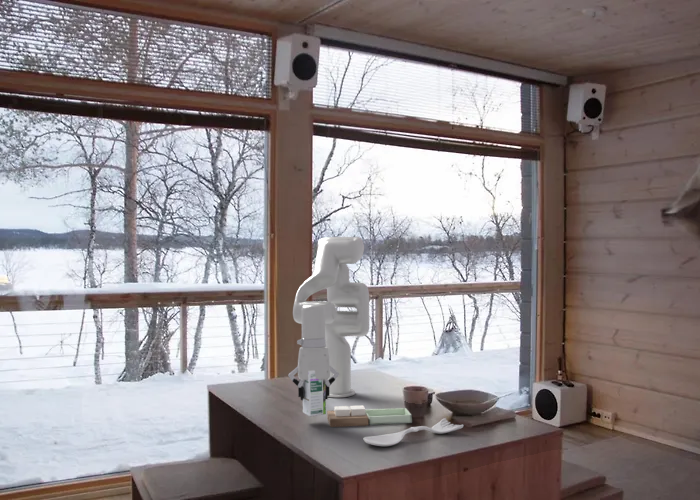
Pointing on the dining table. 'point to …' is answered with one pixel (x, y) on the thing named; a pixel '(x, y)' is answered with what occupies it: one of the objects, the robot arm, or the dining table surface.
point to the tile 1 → (342, 411)
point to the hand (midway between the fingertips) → (313, 398)
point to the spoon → (397, 437)
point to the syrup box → (314, 395)
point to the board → (346, 420)
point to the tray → (388, 416)
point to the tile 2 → (357, 410)
